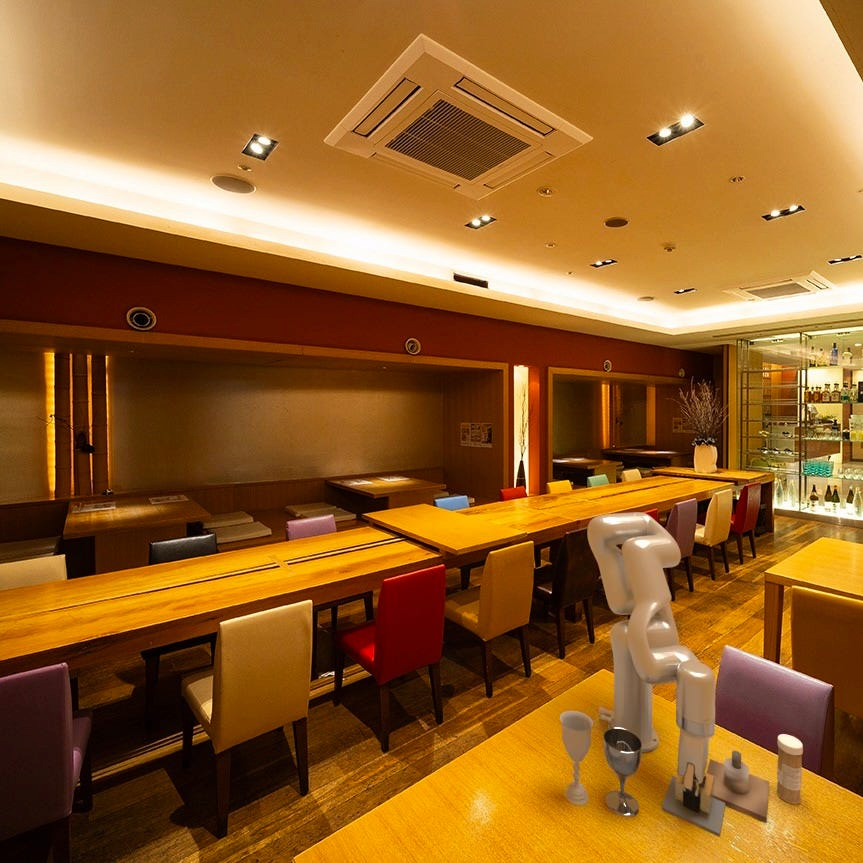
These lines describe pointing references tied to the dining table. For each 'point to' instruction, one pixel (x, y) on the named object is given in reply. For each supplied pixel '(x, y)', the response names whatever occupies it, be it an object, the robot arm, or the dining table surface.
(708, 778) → the c link
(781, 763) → the sprinkles bottle
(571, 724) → the chalice
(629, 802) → the wine glass
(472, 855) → the dining table surface
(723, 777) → the stand
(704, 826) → the mat
